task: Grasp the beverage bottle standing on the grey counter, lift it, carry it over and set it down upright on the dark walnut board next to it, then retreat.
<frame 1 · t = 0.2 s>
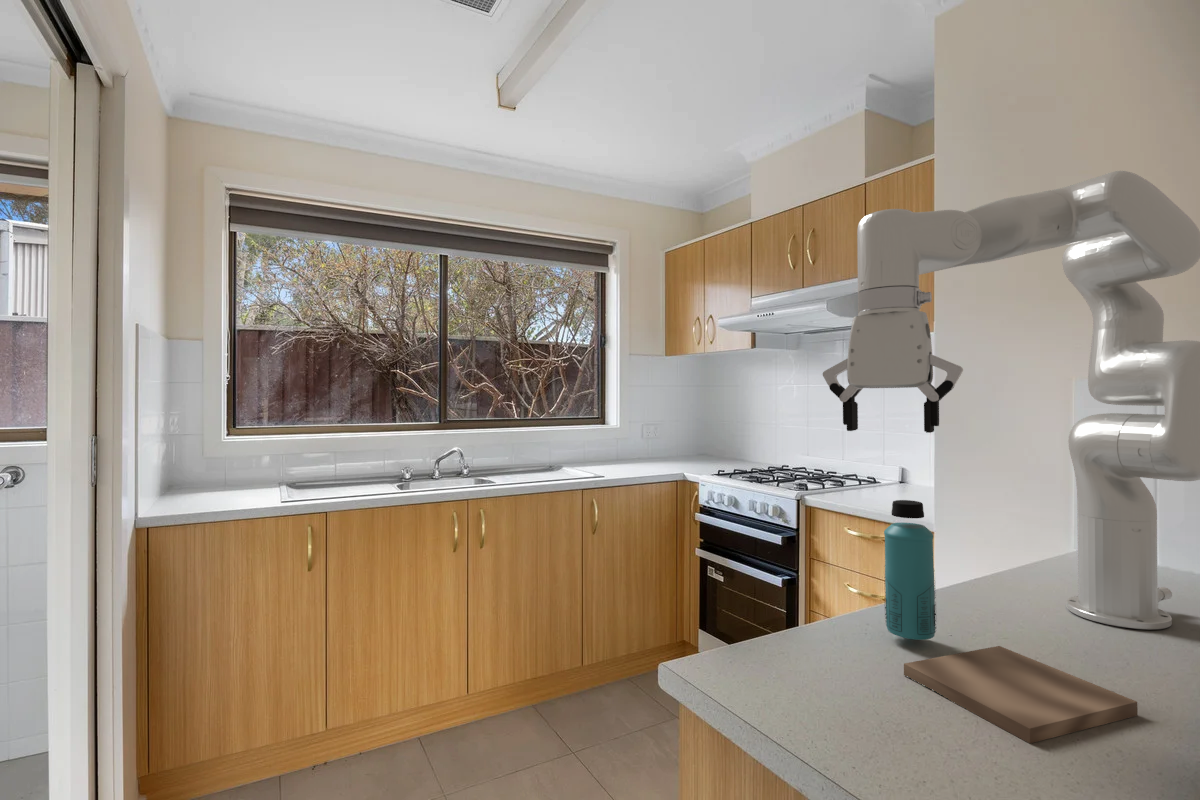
hand: (889, 431, 83), 30 cm above the countertop, fingers open, 9 cm apart
walnut board: (1012, 694, 71), on the countertop
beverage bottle: (909, 643, 87), on the countertop
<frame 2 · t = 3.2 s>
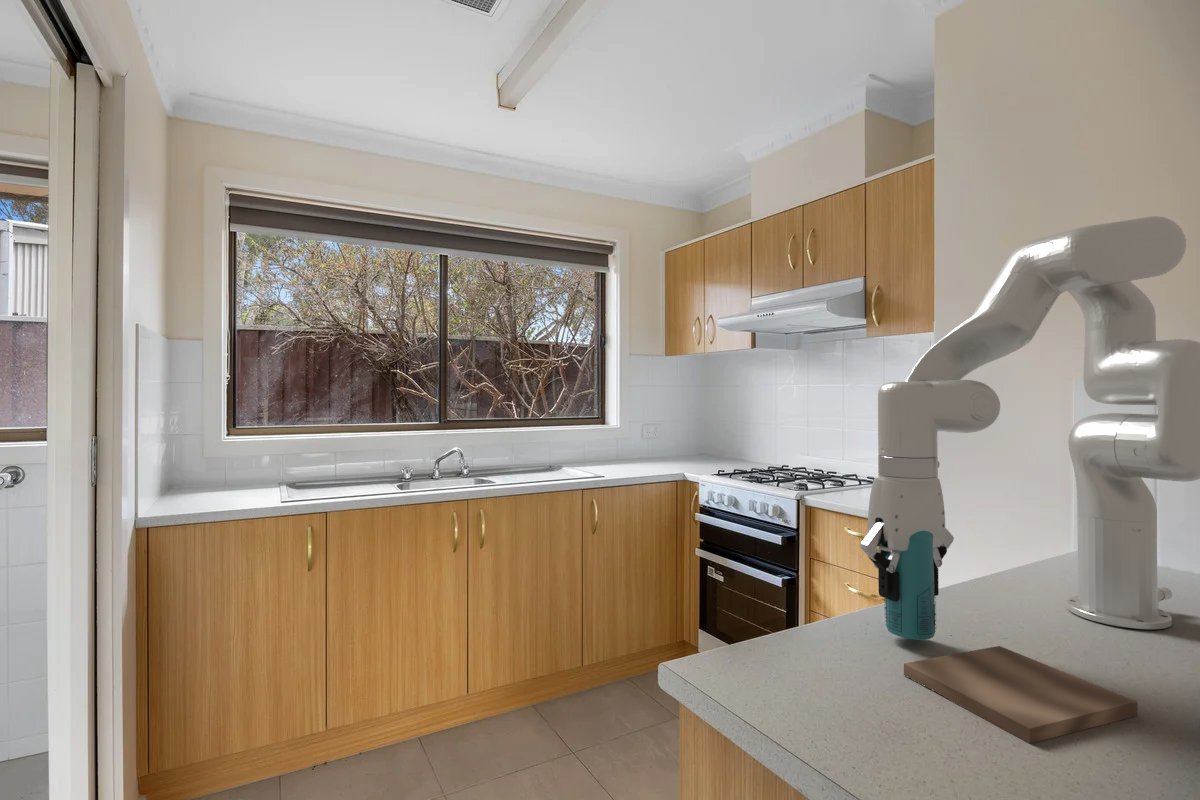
hand: (908, 594, 87), 7 cm above the countertop, fingers closed on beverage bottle, 6 cm apart
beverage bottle: (909, 643, 87), on the countertop, touching gripper
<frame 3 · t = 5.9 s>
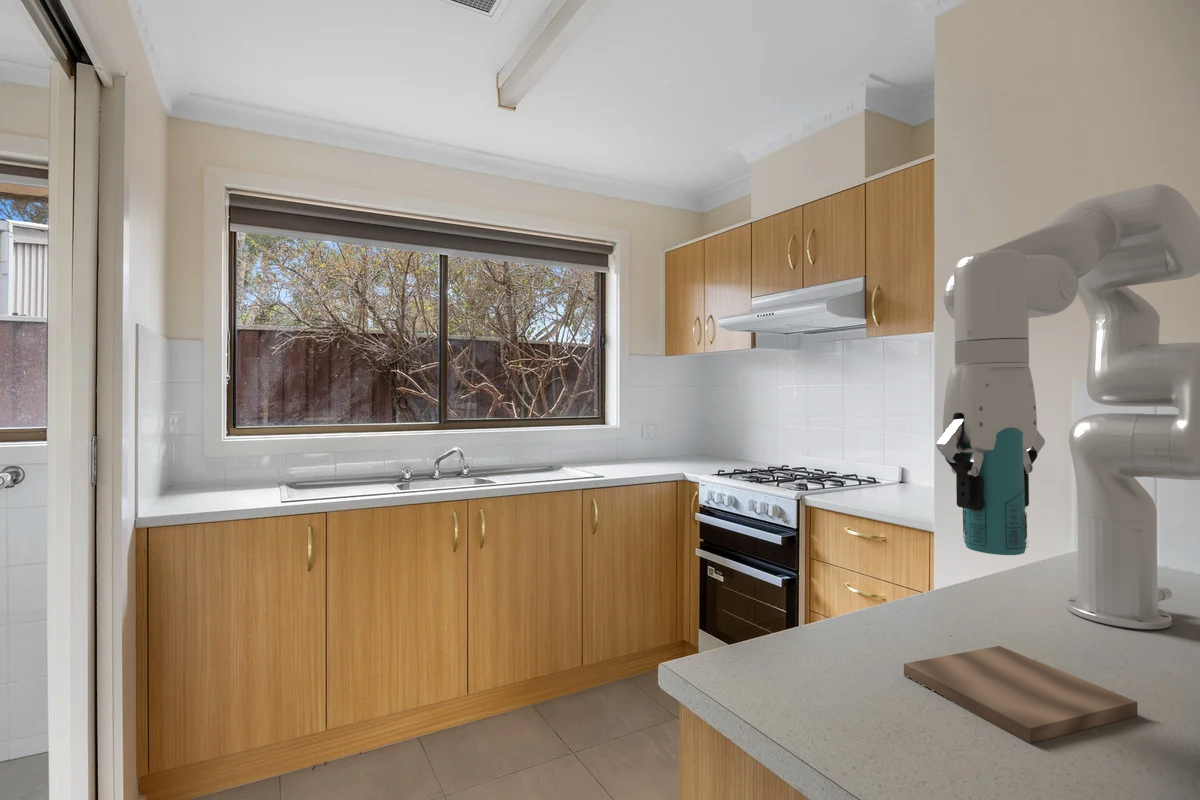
hand: (992, 505, 74), 22 cm above the countertop, fingers closed on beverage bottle, 6 cm apart
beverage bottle: (994, 562, 74), point 15 cm above the countertop, touching gripper
when the fingers open (9 cm above the countertop, at t = 9.0 s): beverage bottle stays where it is, resting on walnut board.
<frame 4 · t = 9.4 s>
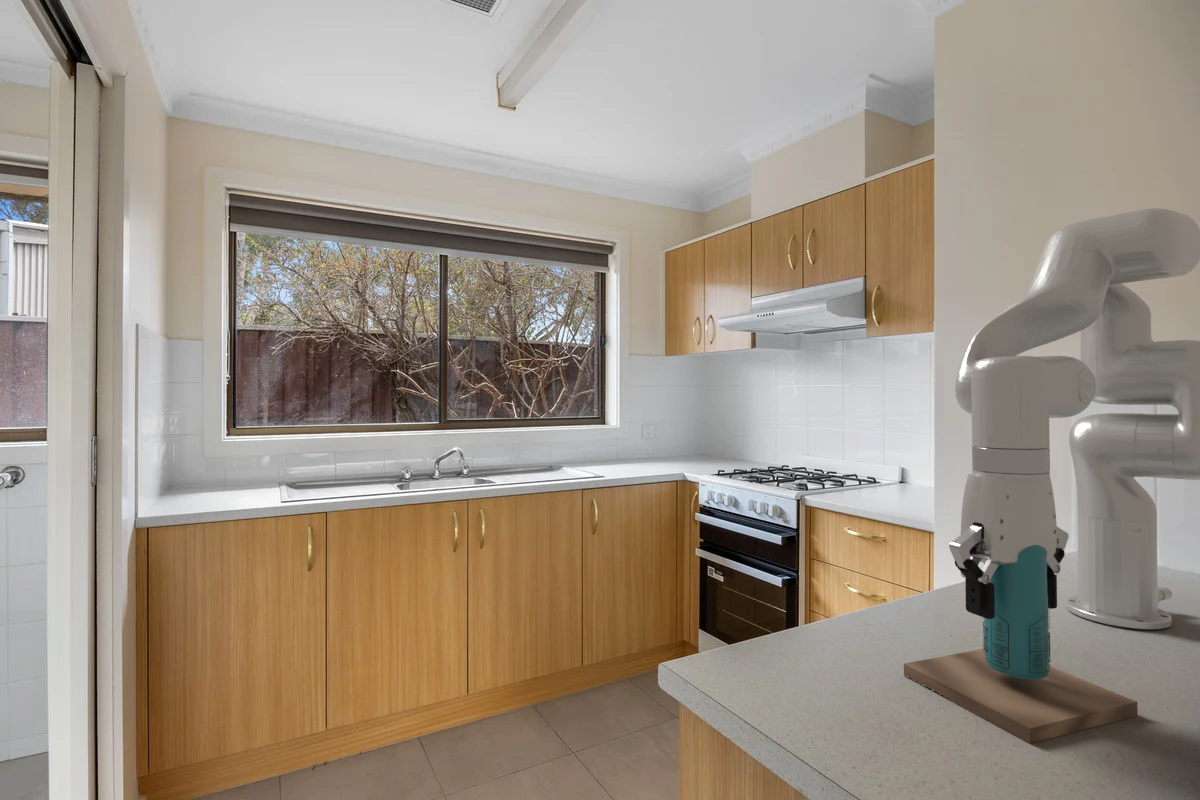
hand: (1011, 609, 71), 10 cm above the countertop, fingers open, 9 cm apart
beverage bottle: (1015, 681, 72), point 1 cm above the countertop, touching walnut board
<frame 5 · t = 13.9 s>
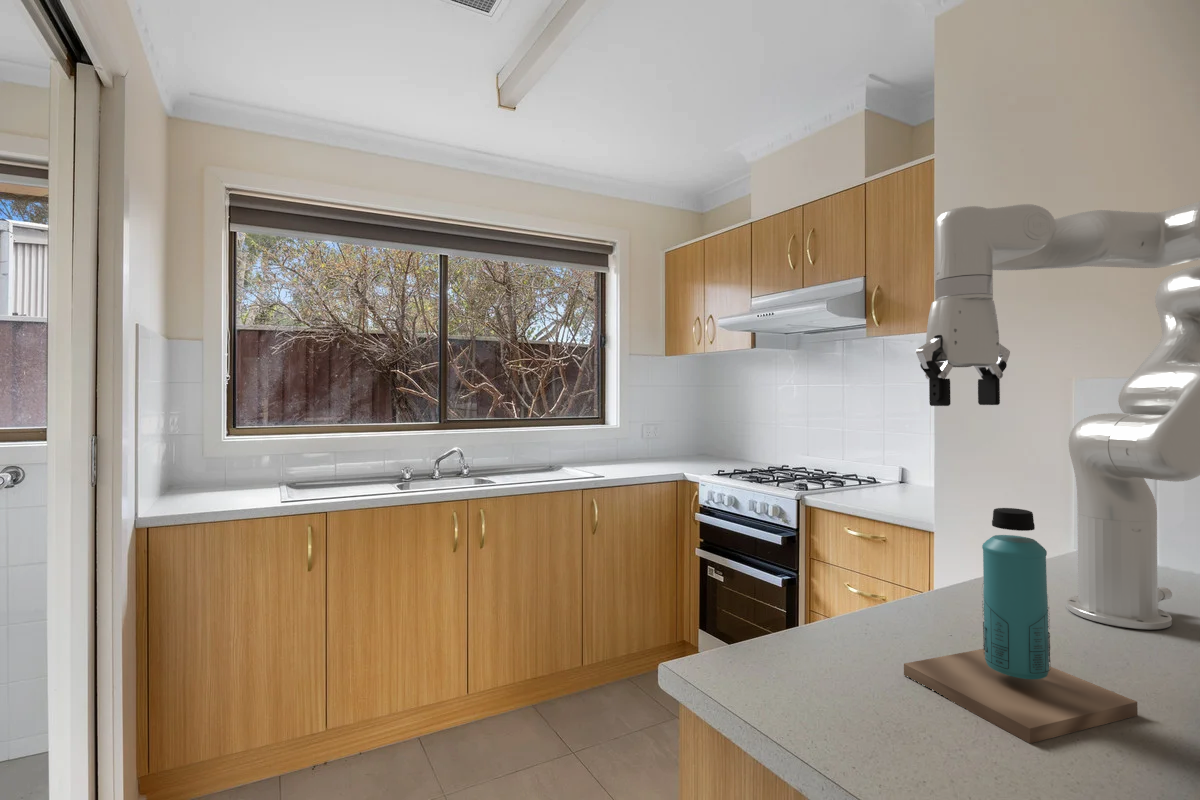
hand: (964, 405, 93), 33 cm above the countertop, fingers open, 9 cm apart
nothing on the countertop moved.
at the end: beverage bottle inside the target area on the walnut board (0.6 cm from its centre), point 1.3 cm above the walnut board's base; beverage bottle tilted 0°; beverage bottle touching walnut board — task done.
